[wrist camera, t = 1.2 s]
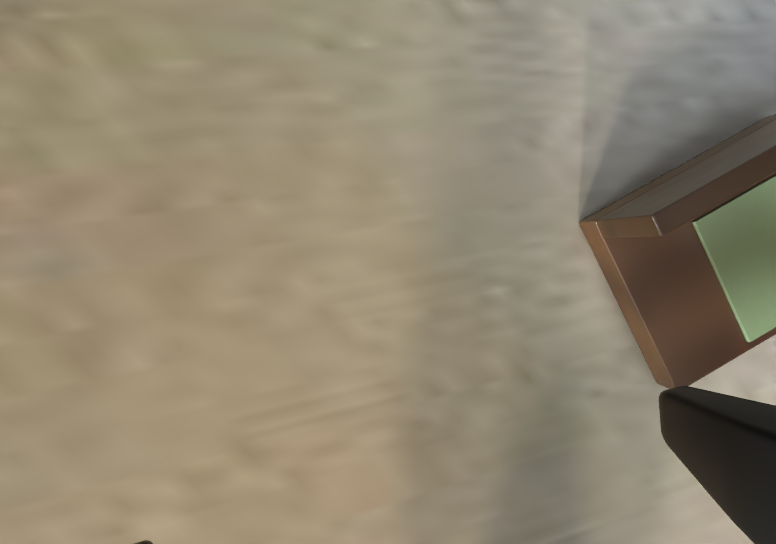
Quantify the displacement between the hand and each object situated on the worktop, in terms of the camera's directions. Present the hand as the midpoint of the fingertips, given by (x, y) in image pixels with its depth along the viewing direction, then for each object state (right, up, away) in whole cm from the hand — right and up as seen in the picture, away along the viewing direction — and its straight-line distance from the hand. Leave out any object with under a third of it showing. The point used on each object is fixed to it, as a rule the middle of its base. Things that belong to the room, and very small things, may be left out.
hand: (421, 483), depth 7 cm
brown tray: (+17, +5, +16) cm, 24 cm away
